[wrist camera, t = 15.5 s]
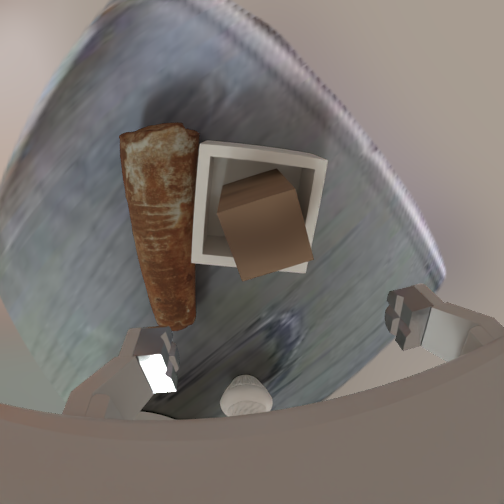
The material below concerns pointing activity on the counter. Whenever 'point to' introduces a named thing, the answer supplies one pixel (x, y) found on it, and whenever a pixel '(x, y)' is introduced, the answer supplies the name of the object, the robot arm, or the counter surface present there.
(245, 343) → the counter surface
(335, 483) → the robot arm
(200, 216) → the bin
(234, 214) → the walnut block
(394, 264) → the counter surface
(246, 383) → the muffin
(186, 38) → the counter surface
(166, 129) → the bread
